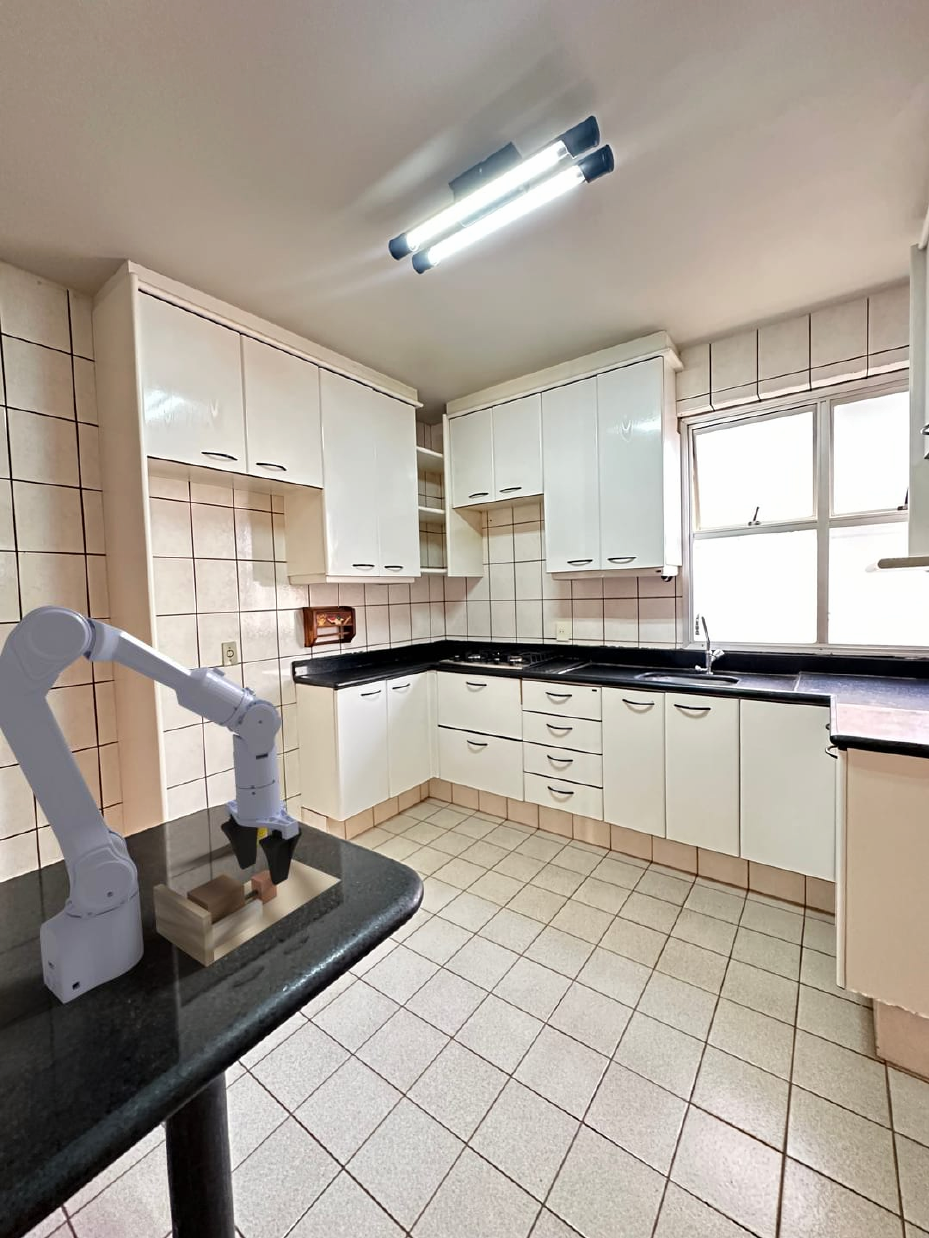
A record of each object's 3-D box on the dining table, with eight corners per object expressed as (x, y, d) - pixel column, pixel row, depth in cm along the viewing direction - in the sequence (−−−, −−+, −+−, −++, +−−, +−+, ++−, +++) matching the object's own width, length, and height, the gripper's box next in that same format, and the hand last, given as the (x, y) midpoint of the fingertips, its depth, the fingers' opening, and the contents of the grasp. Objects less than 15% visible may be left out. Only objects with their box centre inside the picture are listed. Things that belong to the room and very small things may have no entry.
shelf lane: (206, 972, 62) (202, 917, 61) (157, 936, 69) (153, 887, 68) (341, 884, 79) (339, 841, 79) (291, 863, 86) (288, 823, 85)
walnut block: (210, 942, 66) (207, 904, 65) (189, 928, 69) (186, 892, 68) (282, 898, 75) (280, 864, 74) (261, 888, 77) (259, 855, 77)
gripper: (313, 780, 73) (319, 874, 74) (252, 763, 81) (258, 848, 82) (269, 799, 67) (276, 900, 68) (208, 779, 75) (215, 869, 76)
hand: (263, 873), depth 75 cm, fingers open, 7 cm apart
